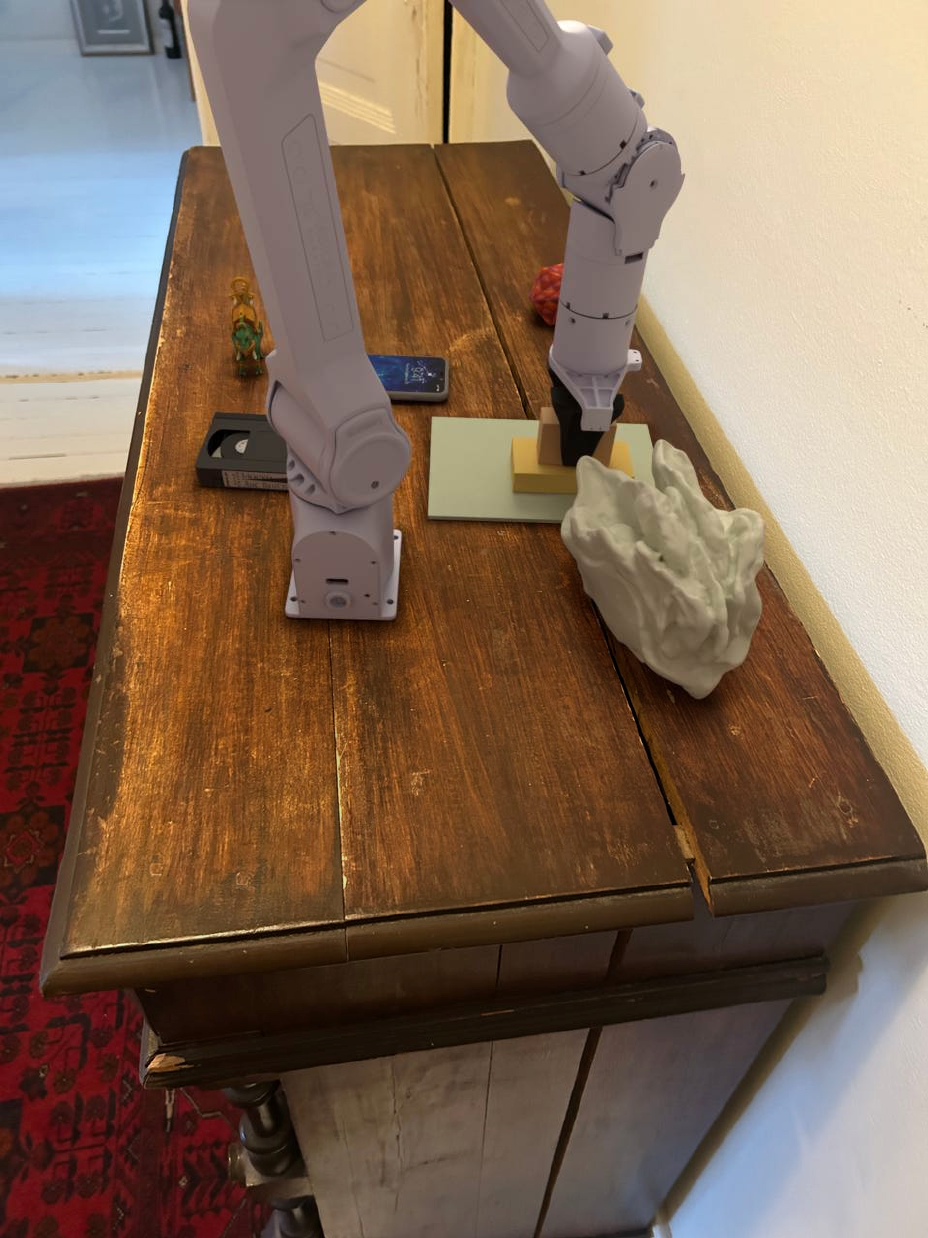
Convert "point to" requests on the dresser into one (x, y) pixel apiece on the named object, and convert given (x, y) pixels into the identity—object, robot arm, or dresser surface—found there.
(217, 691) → the dresser surface
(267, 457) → the vhs tape
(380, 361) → the smartphone
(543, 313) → the red bumpy ball
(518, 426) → the mat
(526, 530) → the dresser surface
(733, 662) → the wavy plaster lump
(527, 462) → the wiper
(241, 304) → the figurine
